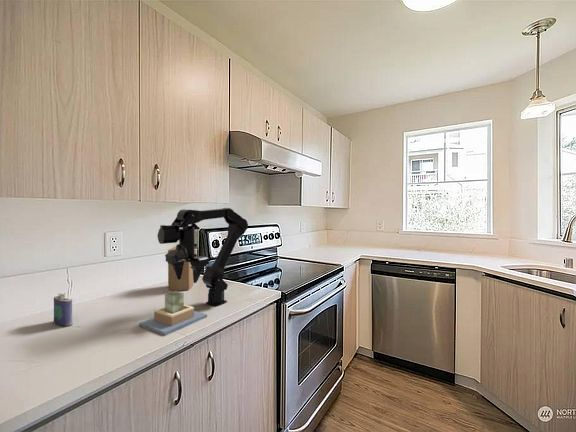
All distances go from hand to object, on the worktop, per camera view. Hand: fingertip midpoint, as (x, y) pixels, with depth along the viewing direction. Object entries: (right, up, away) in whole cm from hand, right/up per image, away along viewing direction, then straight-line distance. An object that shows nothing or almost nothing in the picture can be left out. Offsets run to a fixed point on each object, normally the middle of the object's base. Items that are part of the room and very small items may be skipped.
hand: (187, 281), depth 113 cm
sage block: (-1, -8, -9) cm, 13 cm away
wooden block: (-14, -11, +32) cm, 37 cm away
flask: (-39, -12, -12) cm, 43 cm away
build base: (-1, -12, -9) cm, 16 cm away
